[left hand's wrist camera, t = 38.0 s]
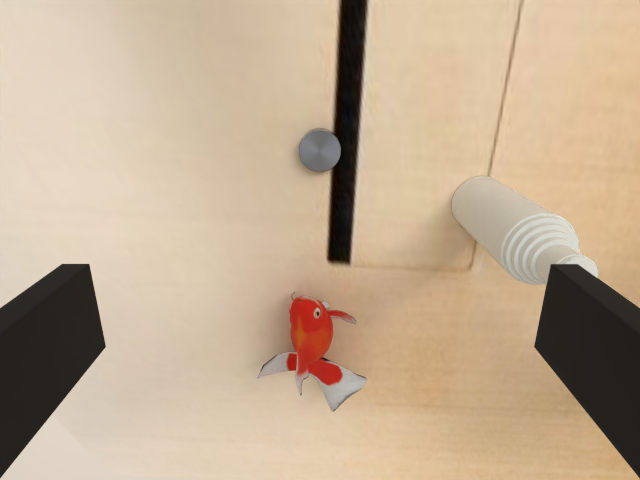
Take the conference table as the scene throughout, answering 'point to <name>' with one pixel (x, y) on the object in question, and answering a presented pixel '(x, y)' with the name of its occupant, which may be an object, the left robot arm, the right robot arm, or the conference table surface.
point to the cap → (319, 150)
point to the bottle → (517, 230)
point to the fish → (315, 351)
